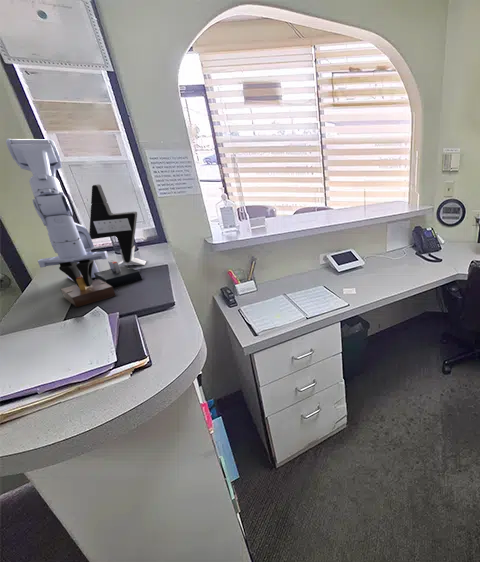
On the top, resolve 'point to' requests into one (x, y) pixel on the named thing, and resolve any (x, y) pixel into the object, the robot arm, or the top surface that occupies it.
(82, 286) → the block
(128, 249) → the award
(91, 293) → the brown wooden base
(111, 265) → the block
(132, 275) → the back plate
